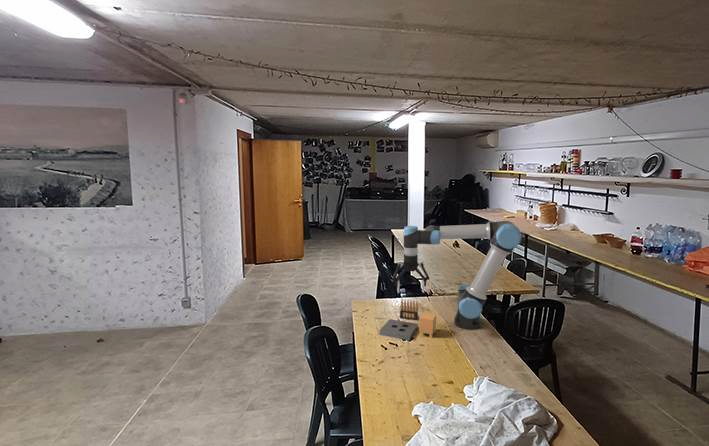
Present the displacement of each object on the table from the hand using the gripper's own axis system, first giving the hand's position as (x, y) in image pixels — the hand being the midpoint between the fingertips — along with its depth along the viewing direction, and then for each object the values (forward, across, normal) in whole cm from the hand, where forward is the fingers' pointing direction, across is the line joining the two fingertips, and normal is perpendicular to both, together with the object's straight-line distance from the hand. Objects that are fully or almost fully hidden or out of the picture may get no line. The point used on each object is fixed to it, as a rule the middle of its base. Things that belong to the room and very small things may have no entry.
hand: (410, 292), depth 217 cm
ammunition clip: (+21, 0, -14) cm, 25 cm away
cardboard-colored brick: (+21, -8, +7) cm, 24 cm away
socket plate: (+21, +7, +4) cm, 22 cm away
